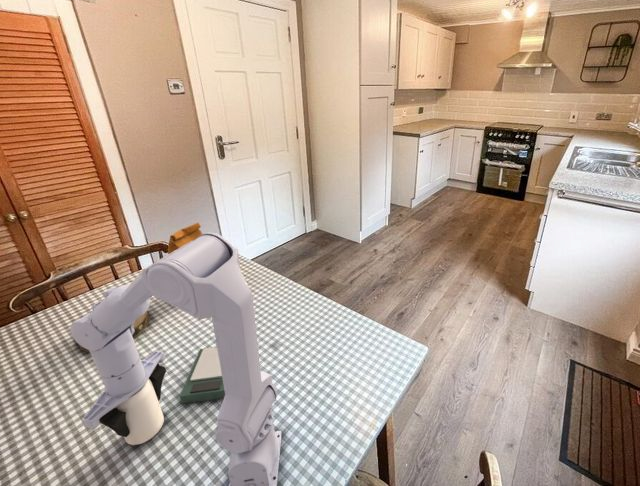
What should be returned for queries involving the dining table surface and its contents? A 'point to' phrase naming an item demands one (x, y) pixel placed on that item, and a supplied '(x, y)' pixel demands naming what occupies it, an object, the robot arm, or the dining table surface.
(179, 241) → the coffee package
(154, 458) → the dining table surface
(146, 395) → the can
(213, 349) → the scale
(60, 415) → the dining table surface
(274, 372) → the dining table surface
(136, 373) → the robot arm
